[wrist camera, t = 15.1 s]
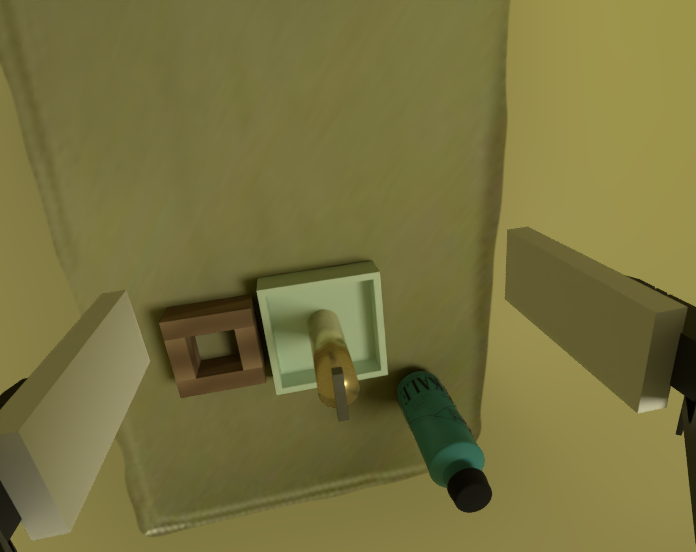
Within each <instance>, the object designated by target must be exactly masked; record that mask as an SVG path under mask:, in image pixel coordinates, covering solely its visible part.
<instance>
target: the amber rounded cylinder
mask: <svg viewBox="0 0 696 552" xmlns="http://www.w3.org/2000/svg"><path fill="white" fill-rule="evenodd" d="M307 327H308V333H309V339H310V345H311V351H312V358H313V364H314V370H315V376H316V382H317V388H318V394H319V398H320V400H321V401H322V402H323V403H324V404H325V405H327V406H329V407H332V408H336V409H337V415H338V420H339V422H340V421H345V420H349V414H348V405H350V404H351V403H352V402H354V401H355V400H356V398H357V397H358V395H359V392H360V385H359V382H358V378H357V375H356V372H355V369H354V366H353V363H352V360H351V356H350V353H349V350H348V347H347V344H346V341H345V337H344V334H343V331H342V328H341V325H340V322H339V319H338V317H337V315H336V314H335V313H334V312H332V311H330V310H326V309H323V310H318V311H316V312H314V313H313V314H312V315H311V316H310V317H309V319H308V323H307Z"/></svg>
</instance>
